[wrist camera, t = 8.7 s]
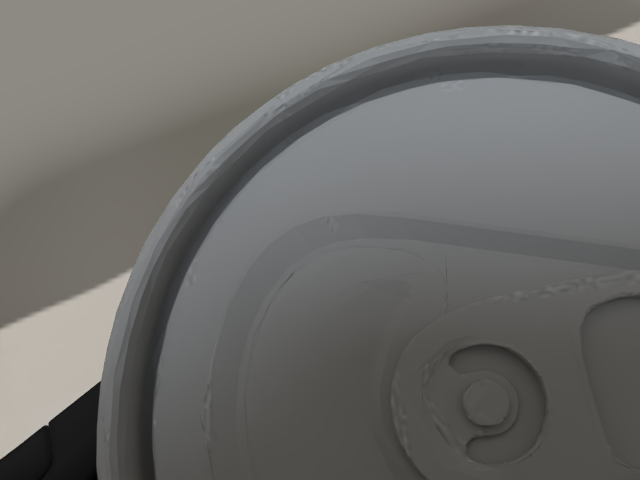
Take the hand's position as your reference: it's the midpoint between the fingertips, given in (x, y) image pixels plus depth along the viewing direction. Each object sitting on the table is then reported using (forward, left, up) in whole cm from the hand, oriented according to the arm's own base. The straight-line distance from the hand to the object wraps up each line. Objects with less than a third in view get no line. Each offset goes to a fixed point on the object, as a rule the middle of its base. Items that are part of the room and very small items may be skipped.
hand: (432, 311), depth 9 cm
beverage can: (-1, +1, -7) cm, 7 cm away
